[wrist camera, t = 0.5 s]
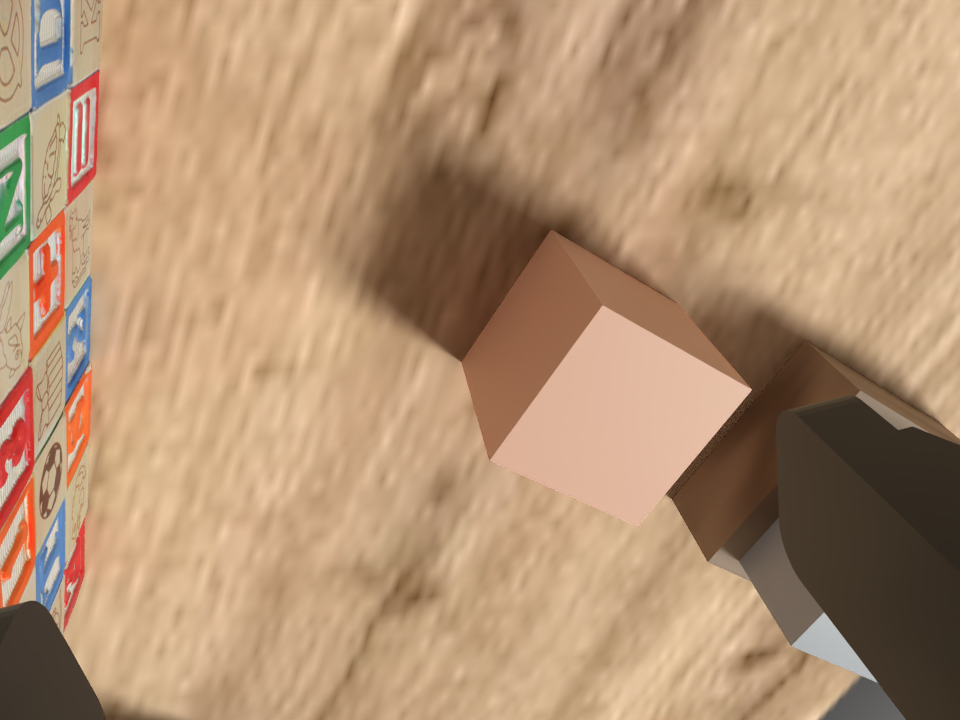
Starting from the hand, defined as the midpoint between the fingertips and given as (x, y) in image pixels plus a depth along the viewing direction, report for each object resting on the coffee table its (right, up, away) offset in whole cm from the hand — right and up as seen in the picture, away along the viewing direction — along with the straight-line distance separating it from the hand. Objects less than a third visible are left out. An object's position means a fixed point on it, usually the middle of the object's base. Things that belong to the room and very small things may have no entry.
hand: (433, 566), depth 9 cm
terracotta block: (+4, +3, +20) cm, 21 cm away
